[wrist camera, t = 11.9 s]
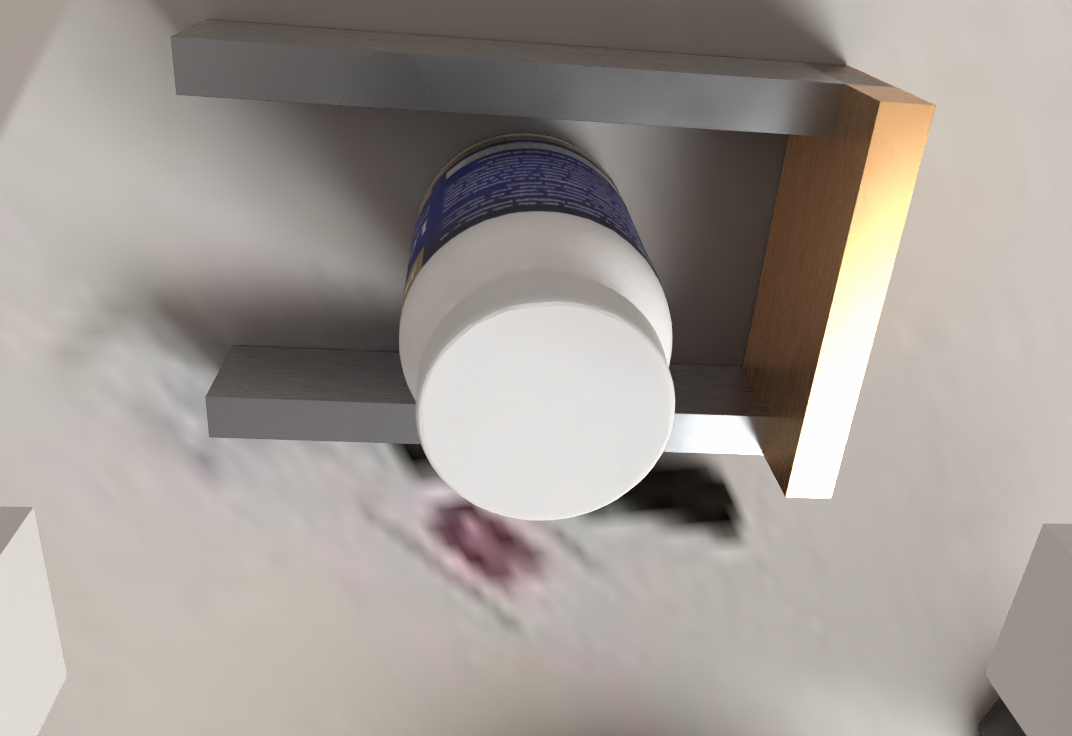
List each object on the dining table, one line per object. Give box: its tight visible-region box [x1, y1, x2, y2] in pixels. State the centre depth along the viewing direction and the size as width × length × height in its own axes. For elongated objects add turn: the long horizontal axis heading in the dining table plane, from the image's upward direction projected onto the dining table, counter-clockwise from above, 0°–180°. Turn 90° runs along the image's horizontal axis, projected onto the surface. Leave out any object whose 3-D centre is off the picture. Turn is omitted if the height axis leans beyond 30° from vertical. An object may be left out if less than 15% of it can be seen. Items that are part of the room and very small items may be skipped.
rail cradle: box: [171, 20, 936, 498], centre depth 23 cm, size 16×10×5 cm, turn 86°
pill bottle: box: [399, 133, 675, 520], centre depth 21 cm, size 6×6×10 cm
